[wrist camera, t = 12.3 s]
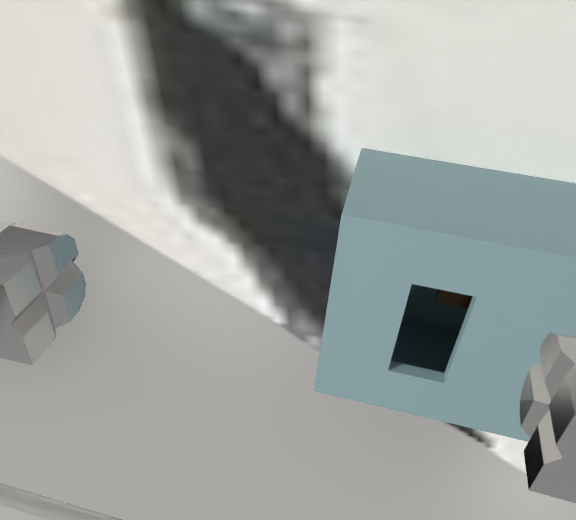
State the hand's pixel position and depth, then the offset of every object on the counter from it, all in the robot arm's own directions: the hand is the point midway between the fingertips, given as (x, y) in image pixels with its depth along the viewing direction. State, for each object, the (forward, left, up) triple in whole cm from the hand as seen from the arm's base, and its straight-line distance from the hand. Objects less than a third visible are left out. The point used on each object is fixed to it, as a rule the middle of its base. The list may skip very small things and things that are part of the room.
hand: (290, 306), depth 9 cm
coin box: (-9, +18, -30) cm, 36 cm away
